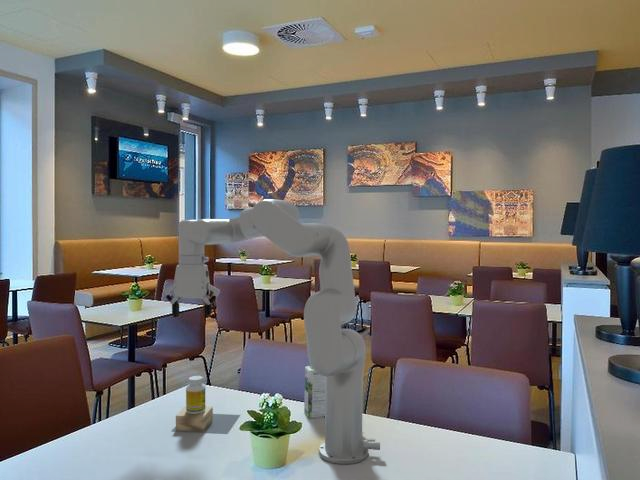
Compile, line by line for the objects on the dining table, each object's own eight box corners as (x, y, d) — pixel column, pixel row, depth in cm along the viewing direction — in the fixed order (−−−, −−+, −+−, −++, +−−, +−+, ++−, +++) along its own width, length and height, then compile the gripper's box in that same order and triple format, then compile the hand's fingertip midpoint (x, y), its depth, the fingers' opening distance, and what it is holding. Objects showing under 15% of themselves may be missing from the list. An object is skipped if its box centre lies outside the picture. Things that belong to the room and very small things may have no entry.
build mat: (240, 418, 152) (240, 414, 152) (227, 438, 138) (227, 433, 138) (188, 416, 154) (188, 412, 154) (170, 435, 140) (170, 431, 140)
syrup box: (303, 412, 158) (303, 366, 157) (321, 410, 159) (321, 364, 159) (308, 418, 152) (308, 371, 152) (327, 416, 154) (327, 369, 154)
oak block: (212, 420, 148) (212, 406, 148) (203, 431, 140) (203, 416, 140) (186, 419, 148) (186, 405, 148) (175, 430, 141) (175, 415, 140)
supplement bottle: (186, 408, 146) (186, 375, 146) (205, 407, 147) (205, 374, 147) (185, 415, 141) (185, 381, 141) (205, 413, 142) (205, 379, 142)
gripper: (223, 260, 156) (223, 315, 156) (168, 259, 158) (168, 314, 158) (216, 261, 149) (216, 319, 149) (158, 261, 150) (159, 318, 150)
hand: (191, 317), depth 153 cm, fingers open, 9 cm apart
